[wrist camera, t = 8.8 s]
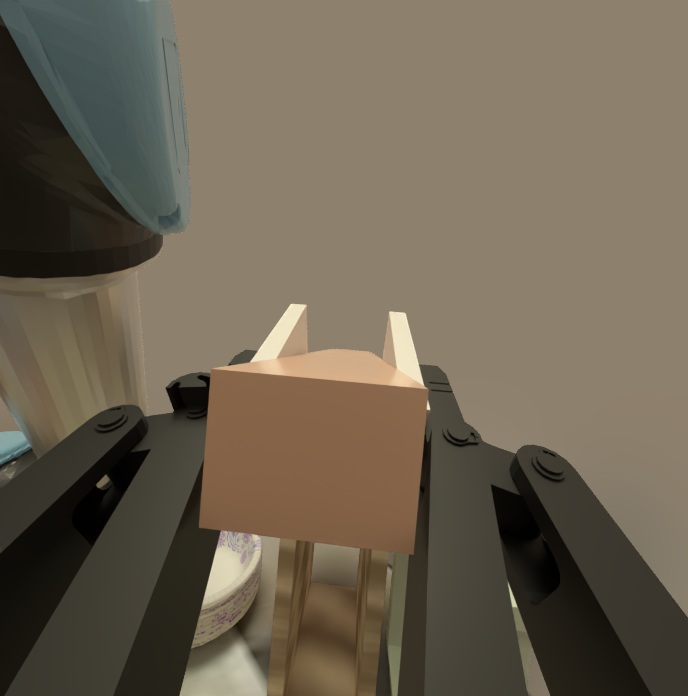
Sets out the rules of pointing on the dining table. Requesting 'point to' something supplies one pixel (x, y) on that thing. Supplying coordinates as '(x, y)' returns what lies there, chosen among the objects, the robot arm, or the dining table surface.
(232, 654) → the dining table surface
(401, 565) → the pale green rectangular frame
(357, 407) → the salmon orange bar
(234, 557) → the paper bowls
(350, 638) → the birch stand
